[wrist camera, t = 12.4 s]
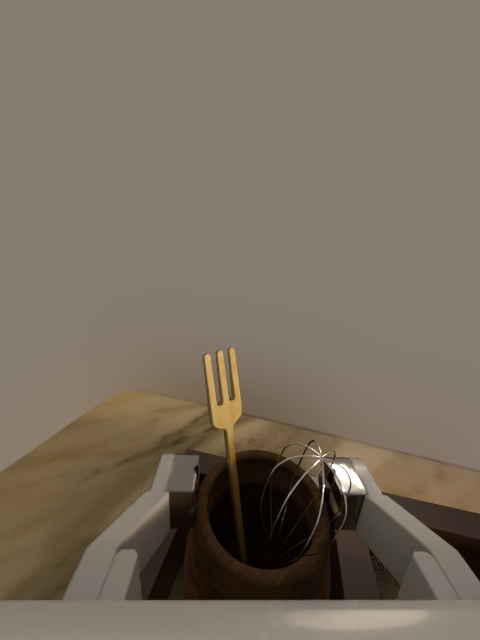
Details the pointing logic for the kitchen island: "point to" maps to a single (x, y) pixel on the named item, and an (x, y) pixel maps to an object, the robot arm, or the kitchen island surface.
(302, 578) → the utensil holder
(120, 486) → the kitchen island surface
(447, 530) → the rack
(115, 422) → the kitchen island surface
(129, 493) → the kitchen island surface
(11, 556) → the kitchen island surface
